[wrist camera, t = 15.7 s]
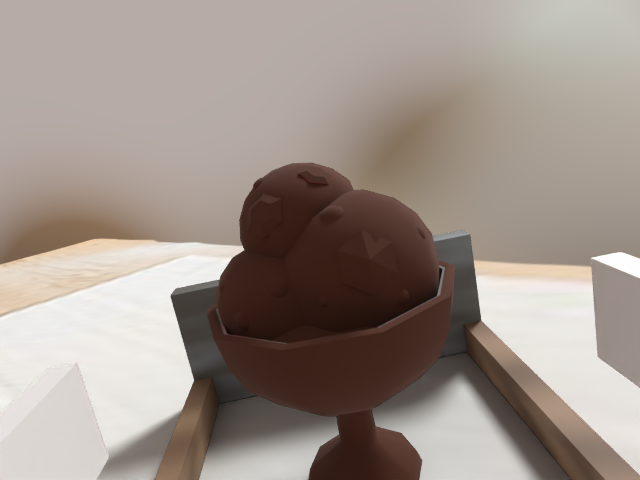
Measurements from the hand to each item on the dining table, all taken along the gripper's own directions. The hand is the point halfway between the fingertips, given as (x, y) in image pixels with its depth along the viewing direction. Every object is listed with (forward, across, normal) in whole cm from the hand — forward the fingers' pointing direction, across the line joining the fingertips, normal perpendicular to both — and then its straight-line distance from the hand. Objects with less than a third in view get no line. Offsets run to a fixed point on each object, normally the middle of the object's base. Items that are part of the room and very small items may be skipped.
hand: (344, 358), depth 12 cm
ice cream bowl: (+9, 0, -11) cm, 14 cm away
